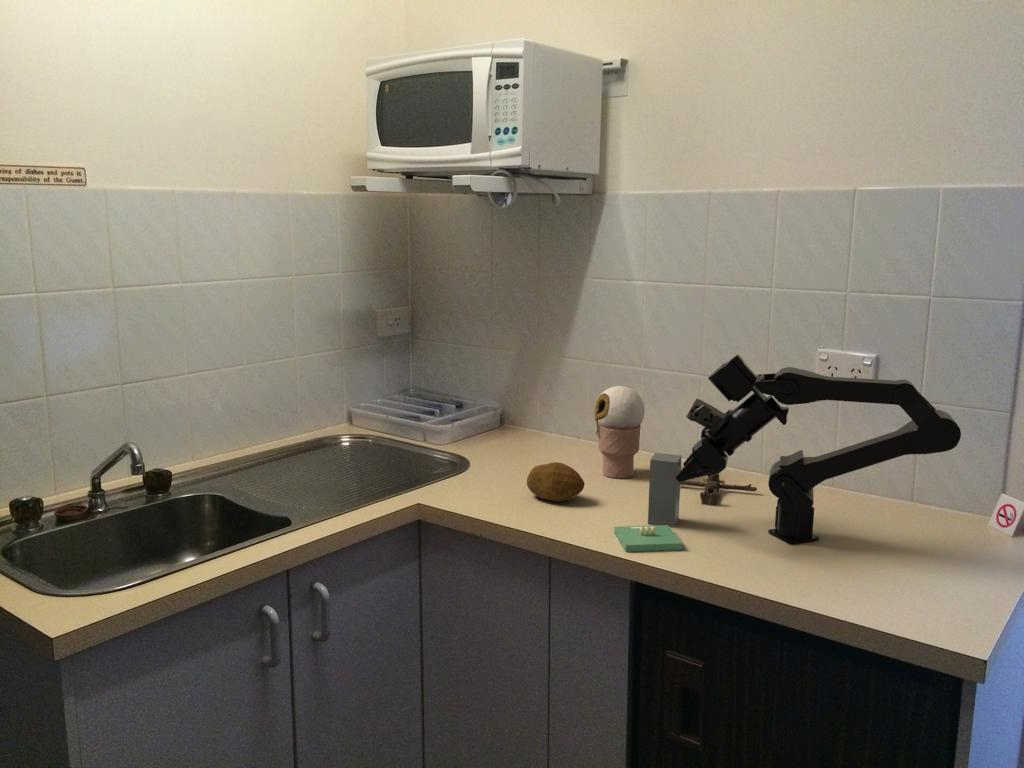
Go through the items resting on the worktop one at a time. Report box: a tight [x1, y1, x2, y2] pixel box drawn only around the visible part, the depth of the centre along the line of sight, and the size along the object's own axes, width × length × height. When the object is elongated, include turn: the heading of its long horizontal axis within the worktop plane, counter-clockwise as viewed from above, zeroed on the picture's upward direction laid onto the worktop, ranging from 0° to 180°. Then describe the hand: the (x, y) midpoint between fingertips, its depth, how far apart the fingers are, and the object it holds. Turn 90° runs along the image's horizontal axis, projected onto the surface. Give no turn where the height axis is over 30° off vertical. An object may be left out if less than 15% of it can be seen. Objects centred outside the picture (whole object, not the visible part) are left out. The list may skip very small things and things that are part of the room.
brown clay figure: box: [680, 474, 758, 506], centre depth 180 cm, size 18×4×14 cm
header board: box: [613, 525, 683, 553], centre depth 154 cm, size 10×9×3 cm
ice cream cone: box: [594, 385, 646, 480], centre depth 192 cm, size 11×11×20 cm
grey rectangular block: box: [647, 452, 682, 528], centre depth 163 cm, size 5×5×12 cm
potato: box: [526, 461, 585, 502], centre depth 176 cm, size 8×12×8 cm, turn 70°
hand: (681, 472), depth 161 cm, fingers open, 9 cm apart
